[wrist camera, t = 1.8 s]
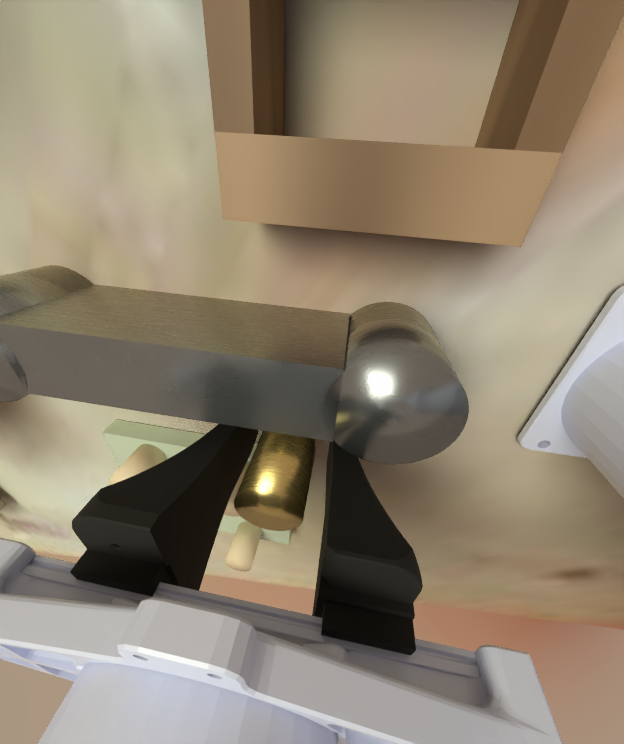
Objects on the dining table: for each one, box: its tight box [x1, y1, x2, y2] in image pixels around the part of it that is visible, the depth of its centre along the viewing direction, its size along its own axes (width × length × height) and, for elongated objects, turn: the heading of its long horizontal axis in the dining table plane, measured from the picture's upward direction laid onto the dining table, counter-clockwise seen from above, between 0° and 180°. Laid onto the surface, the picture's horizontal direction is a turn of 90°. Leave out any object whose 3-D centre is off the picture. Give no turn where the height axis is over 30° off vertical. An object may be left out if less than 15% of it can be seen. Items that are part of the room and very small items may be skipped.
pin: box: [234, 431, 318, 531], centre depth 13 cm, size 3×3×6 cm
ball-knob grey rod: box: [0, 265, 469, 464], centre depth 11 cm, size 20×4×5 cm, turn 86°
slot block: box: [202, 0, 624, 247], centre depth 7 cm, size 8×8×3 cm
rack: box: [102, 419, 292, 571], centre depth 18 cm, size 12×9×4 cm
